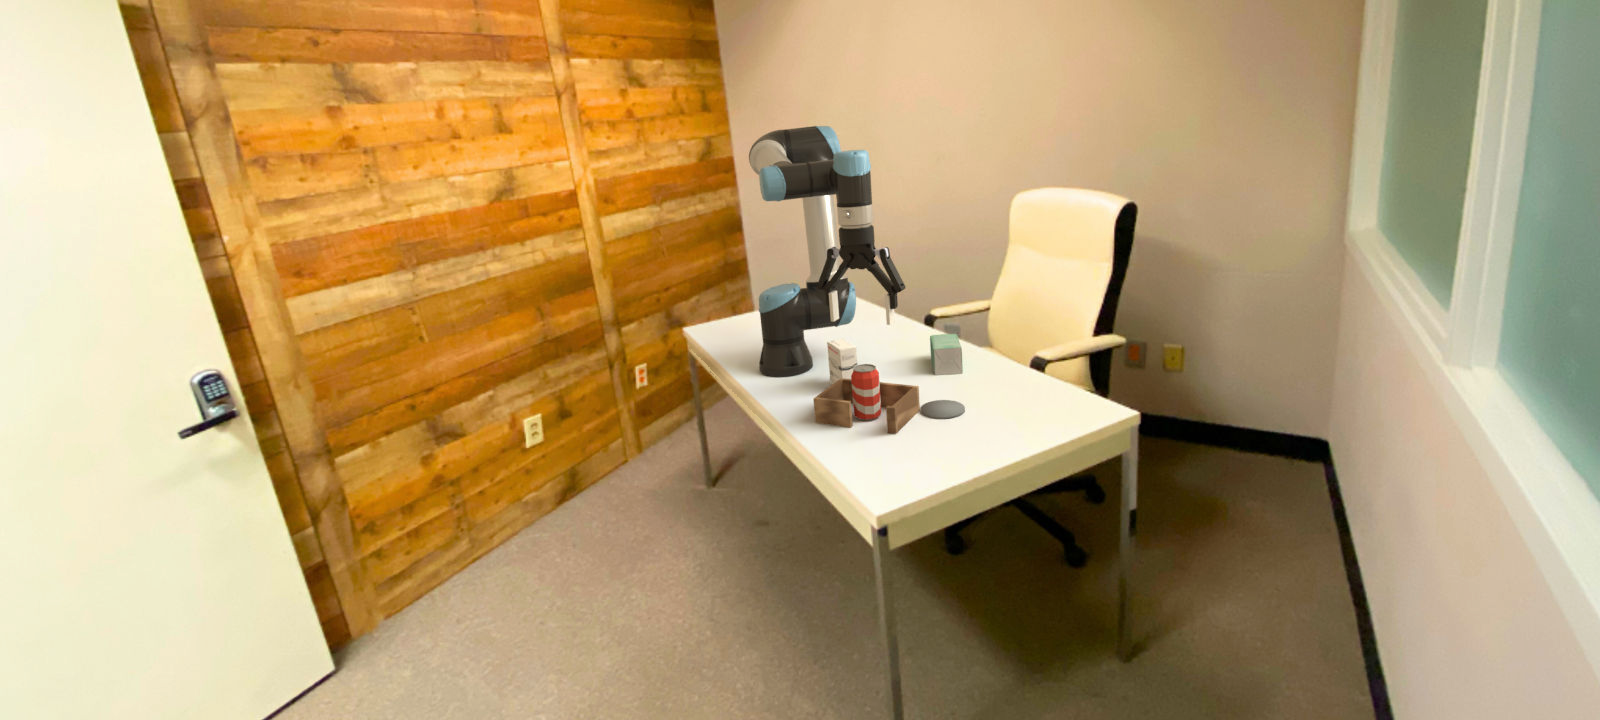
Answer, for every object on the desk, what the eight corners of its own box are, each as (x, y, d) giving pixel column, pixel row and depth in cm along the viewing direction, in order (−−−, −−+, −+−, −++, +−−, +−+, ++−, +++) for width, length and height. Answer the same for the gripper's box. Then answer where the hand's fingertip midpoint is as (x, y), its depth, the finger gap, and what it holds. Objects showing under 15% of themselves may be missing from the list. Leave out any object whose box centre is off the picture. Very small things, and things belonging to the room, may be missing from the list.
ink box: (860, 390, 189) (857, 345, 185) (842, 394, 187) (838, 349, 184) (846, 380, 196) (843, 337, 193) (829, 384, 195) (825, 341, 191)
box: (957, 357, 206) (956, 332, 204) (963, 374, 193) (962, 347, 191) (930, 359, 207) (929, 334, 204) (934, 376, 194) (933, 349, 192)
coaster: (914, 415, 170) (914, 413, 170) (929, 400, 178) (929, 398, 178) (956, 421, 165) (956, 418, 165) (970, 404, 173) (970, 402, 173)
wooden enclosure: (815, 422, 171) (813, 398, 169) (842, 401, 183) (841, 378, 181) (896, 434, 161) (894, 408, 159) (919, 410, 173) (918, 386, 171)
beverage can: (862, 424, 168) (859, 374, 164) (849, 415, 174) (846, 366, 170) (886, 417, 170) (883, 368, 166) (872, 409, 176) (869, 361, 172)
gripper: (796, 229, 162) (805, 323, 168) (903, 227, 149) (908, 329, 156) (813, 223, 168) (820, 314, 174) (917, 221, 155) (921, 319, 162)
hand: (862, 321), depth 165 cm, fingers open, 13 cm apart
